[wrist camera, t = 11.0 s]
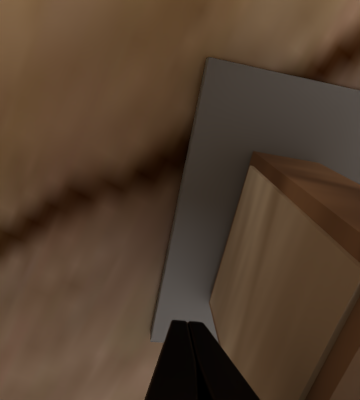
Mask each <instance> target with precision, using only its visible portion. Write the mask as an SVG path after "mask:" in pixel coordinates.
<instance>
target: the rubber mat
mask: <svg viewBox="0 0 360 400" xmlns="http://www.w3.org/2000/svg"><path fill="white" fill-rule="evenodd" d="M253 151H256V152H261V153H267V154H272V155H278V156H283V157H289V158H294V159H300V160H305V161H311V162H316V163H320V164H322V165H324V166H326V167H328V168H330V169H331V170H333V171H335V172H337V173H339V174H341V175H343V176H345V177H346V178H348V179H350V180H352V181H354V182H356V183H358V184H360V90H355V89H351V88H346V87H342V86H337V85H333V84H328V83H324V82H319V81H315V80H310V79H306V78H301V77H297V76H292V75H288V74H283V73H279V72H274V71H270V70H265V69H261V68H256V67H252V66H247V65H243V64H238V63H234V62H229V61H225V60H220V59H216V58H211V57H208V58H206V63H205V68H204V73H203V78H202V83H201V88H200V93H199V98H198V102H197V107H196V112H195V117H194V122H193V127H192V132H191V137H190V142H189V147H188V152H187V156H186V161H185V166H184V171H183V176H182V181H181V186H180V191H179V196H178V201H177V206H176V211H175V215H174V220H173V225H172V230H171V235H170V240H169V245H168V250H167V255H166V260H165V265H164V269H163V274H162V279H161V284H160V289H159V294H158V299H157V304H156V309H155V314H154V319H153V323H152V328H151V342H163V343H164V341H165V338H166V335H167V332H168V329H169V326H170V323H171V321H172V320H185V321H186V322H189V321H197V322H203V323H204V324H205V325H206V327H207V328H208V329H209V331H210V332H211V333H212V335H213V336H214V337H215V339H216V340H217V342H218V338H217V334H216V330H215V326H214V322H213V318H212V314H211V310H210V306H209V301H210V297H211V294H212V290H213V287H214V283H215V280H216V277H217V273H218V270H219V266H220V263H221V259H222V256H223V253H224V249H225V246H226V242H227V239H228V235H229V232H230V229H231V225H232V222H233V218H234V215H235V211H236V208H237V205H238V201H239V198H240V194H241V191H242V187H243V184H244V181H245V177H246V174H247V170H248V167H249V163H250V160H251V157H252V153H253ZM218 343H219V342H218Z"/></svg>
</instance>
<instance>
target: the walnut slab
mask: <svg viewBox="0 0 360 400" xmlns="http://www.w3.org/2000/svg"><path fill="white" fill-rule="evenodd" d="M209 306H210V310H211V314H212V318H213V322H214V326H215V330H216V334H217V338H218V342H219V344H220V346H221V347H222V348H223V350H224V351H225V352H226V354H227V355H228V356H229V358H230V359H231V361H232V362H233V363H234V365H235V366H236V367H237V369H238V370H239V371H240V373H241V374H242V375H243V377H244V378H245V380H246V381H247V382H248V384H249V385H250V386H251V388H252V389H253V390H254V392H255V393H256V394H257V396H258V397H259V399H260V400H360V184H358V183H356V182H354V181H352V180H350V179H348V178H346V177H345V176H343V175H341V174H339V173H337V172H335V171H333V170H331V169H330V168H328V167H326V166H324V165H322V164H320V163H316V162H311V161H305V160H300V159H294V158H289V157H283V156H278V155H272V154H267V153H261V152H256V151H253V153H252V157H251V160H250V163H249V167H248V170H247V174H246V177H245V181H244V184H243V187H242V191H241V194H240V198H239V201H238V205H237V208H236V211H235V215H234V218H233V222H232V225H231V229H230V232H229V235H228V239H227V242H226V246H225V249H224V253H223V256H222V259H221V263H220V266H219V270H218V273H217V277H216V280H215V283H214V287H213V290H212V294H211V297H210V301H209Z"/></svg>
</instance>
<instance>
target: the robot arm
mask: <svg viewBox="0 0 360 400" xmlns="http://www.w3.org/2000/svg"><path fill="white" fill-rule="evenodd" d="M145 400H260V399H259V397H258V396H257V394H256V393H255V392H254V390H253V389H252V388H251V386H250V385H249V384H248V382H247V381H246V380H245V378H244V377H243V375H242V374H241V373H240V371H239V370H238V369H237V367H236V366H235V365H234V363H233V362H232V361H231V359H230V358H229V356H228V355H227V354H226V352H225V351H224V350H223V348H222V347H221V346H220V344H219V343H218V342H217V340H216V339H215V337H214V336H213V335H212V333H211V332H210V331H209V329H208V328H207V327H206V325H205V324H204V323H203V322H197V321H189V322H186V321H185V320H172V321H171V323H170V326H169V329H168V332H167V335H166V338H165V341H164V344H163V347H162V350H161V352H160V355H159V358H158V361H157V364H156V367H155V370H154V373H153V376H152V379H151V382H150V385H149V388H148V391H147V394H146V397H145Z"/></svg>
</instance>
